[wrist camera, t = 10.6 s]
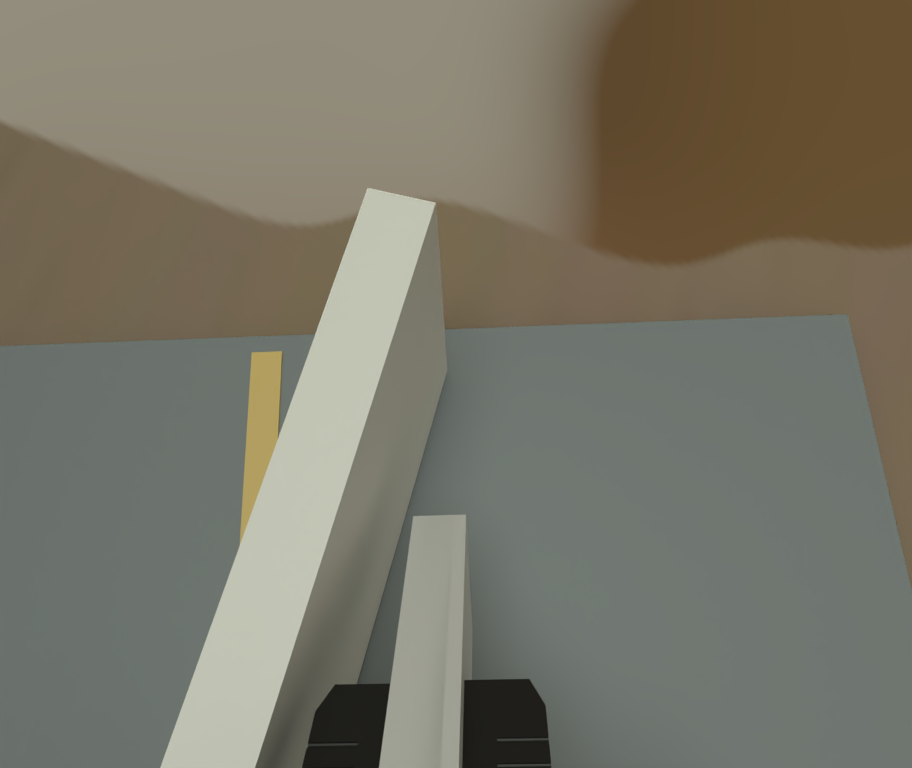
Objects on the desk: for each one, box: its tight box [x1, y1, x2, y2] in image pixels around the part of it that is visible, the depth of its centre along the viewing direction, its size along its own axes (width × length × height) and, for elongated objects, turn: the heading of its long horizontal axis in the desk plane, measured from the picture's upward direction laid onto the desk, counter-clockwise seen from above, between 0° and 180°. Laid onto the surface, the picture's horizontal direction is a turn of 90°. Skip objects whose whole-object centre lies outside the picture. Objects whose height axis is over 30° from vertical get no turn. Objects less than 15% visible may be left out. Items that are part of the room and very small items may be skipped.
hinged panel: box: [160, 188, 447, 768], centre depth 15 cm, size 13×1×8 cm, turn 165°
